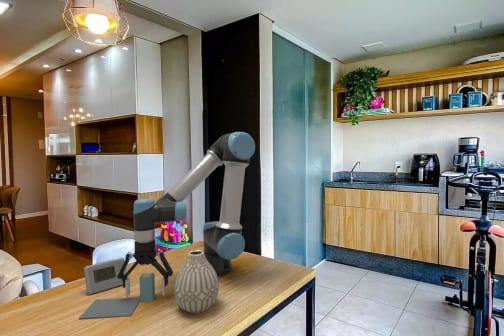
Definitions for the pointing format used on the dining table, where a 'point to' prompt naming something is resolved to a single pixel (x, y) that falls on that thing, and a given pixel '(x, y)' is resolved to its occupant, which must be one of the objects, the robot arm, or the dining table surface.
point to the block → (147, 287)
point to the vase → (196, 284)
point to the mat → (111, 308)
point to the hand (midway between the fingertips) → (146, 294)
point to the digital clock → (103, 275)
